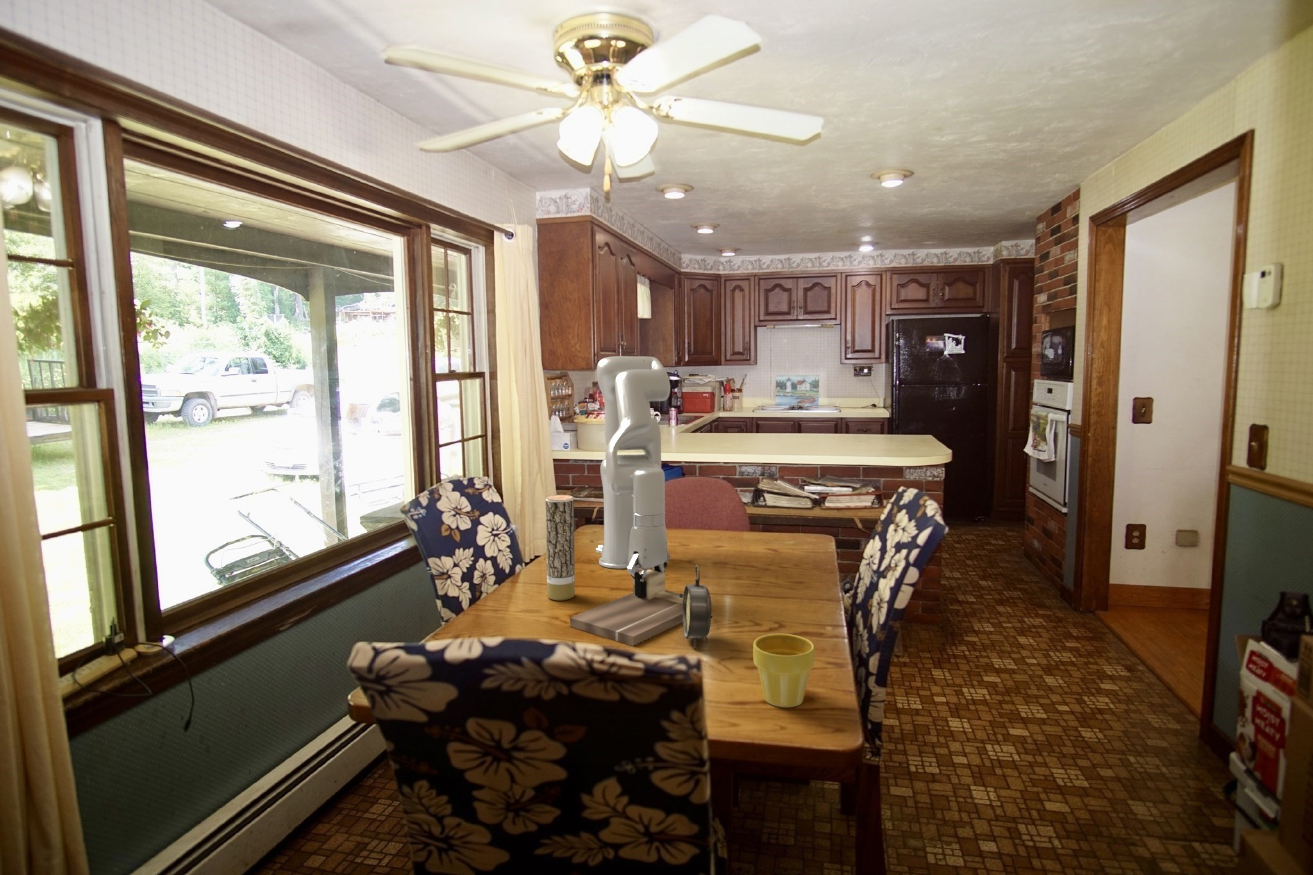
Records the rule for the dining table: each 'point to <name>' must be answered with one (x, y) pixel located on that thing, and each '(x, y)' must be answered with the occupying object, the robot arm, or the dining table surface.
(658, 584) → the cream square mallet
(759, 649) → the plant pot
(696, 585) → the alarm clock
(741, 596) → the dining table surface
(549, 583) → the paper tube
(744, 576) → the dining table surface
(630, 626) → the wooden cutting board
